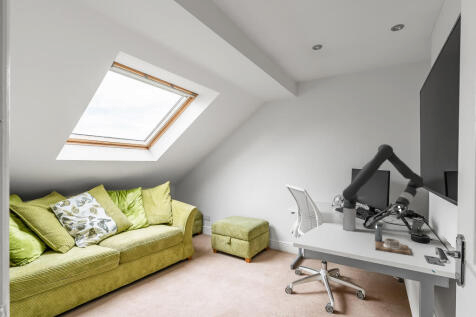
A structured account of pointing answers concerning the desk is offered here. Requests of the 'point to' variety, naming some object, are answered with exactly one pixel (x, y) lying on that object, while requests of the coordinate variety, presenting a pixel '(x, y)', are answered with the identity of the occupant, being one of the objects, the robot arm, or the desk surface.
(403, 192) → the robot arm
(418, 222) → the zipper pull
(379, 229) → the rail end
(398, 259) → the desk surface
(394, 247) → the cup bracket
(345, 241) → the desk surface
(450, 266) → the desk surface
